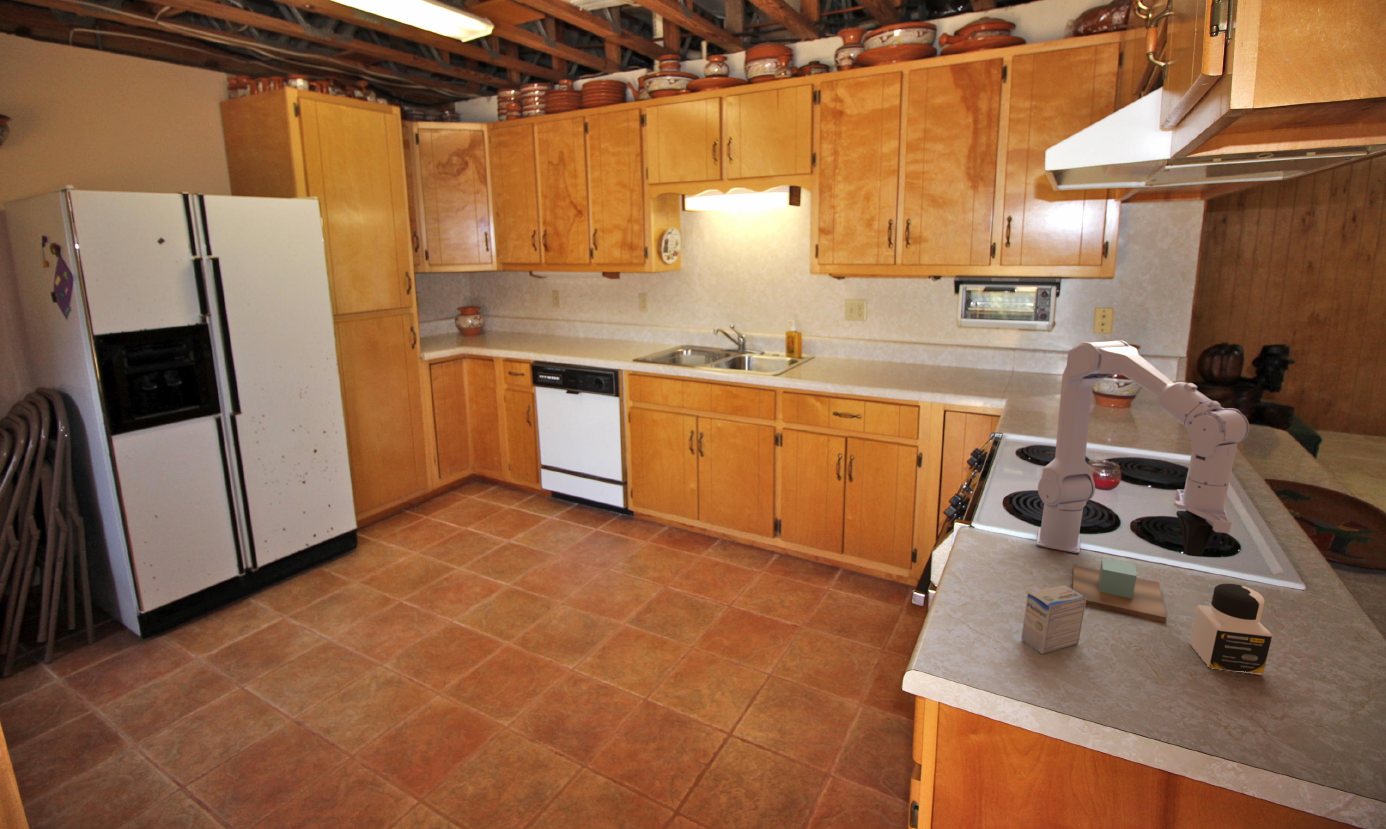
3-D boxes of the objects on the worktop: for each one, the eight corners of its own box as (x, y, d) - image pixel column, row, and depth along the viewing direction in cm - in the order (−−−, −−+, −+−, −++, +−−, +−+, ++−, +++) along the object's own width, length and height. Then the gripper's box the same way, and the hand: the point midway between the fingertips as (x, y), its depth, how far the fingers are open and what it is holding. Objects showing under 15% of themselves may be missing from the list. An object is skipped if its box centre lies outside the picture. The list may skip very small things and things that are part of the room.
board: (1073, 569, 135) (1073, 565, 135) (1157, 586, 129) (1158, 581, 129) (1072, 601, 124) (1072, 597, 123) (1165, 622, 117) (1166, 617, 117)
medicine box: (1056, 630, 115) (1063, 583, 113) (1079, 644, 111) (1087, 596, 109) (1020, 640, 112) (1026, 592, 110) (1042, 655, 108) (1049, 606, 106)
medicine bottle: (1208, 669, 104) (1224, 598, 101) (1188, 643, 111) (1202, 576, 108) (1263, 676, 103) (1281, 604, 100) (1239, 649, 110) (1254, 581, 106)
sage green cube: (1098, 579, 130) (1102, 557, 128) (1130, 586, 127) (1134, 563, 126) (1098, 591, 125) (1102, 569, 124) (1132, 598, 123) (1136, 575, 122)
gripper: (1162, 464, 123) (1149, 534, 127) (1201, 493, 109) (1185, 571, 113) (1206, 467, 122) (1192, 538, 125) (1252, 497, 108) (1234, 575, 111)
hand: (1192, 554), depth 119 cm, fingers closed
